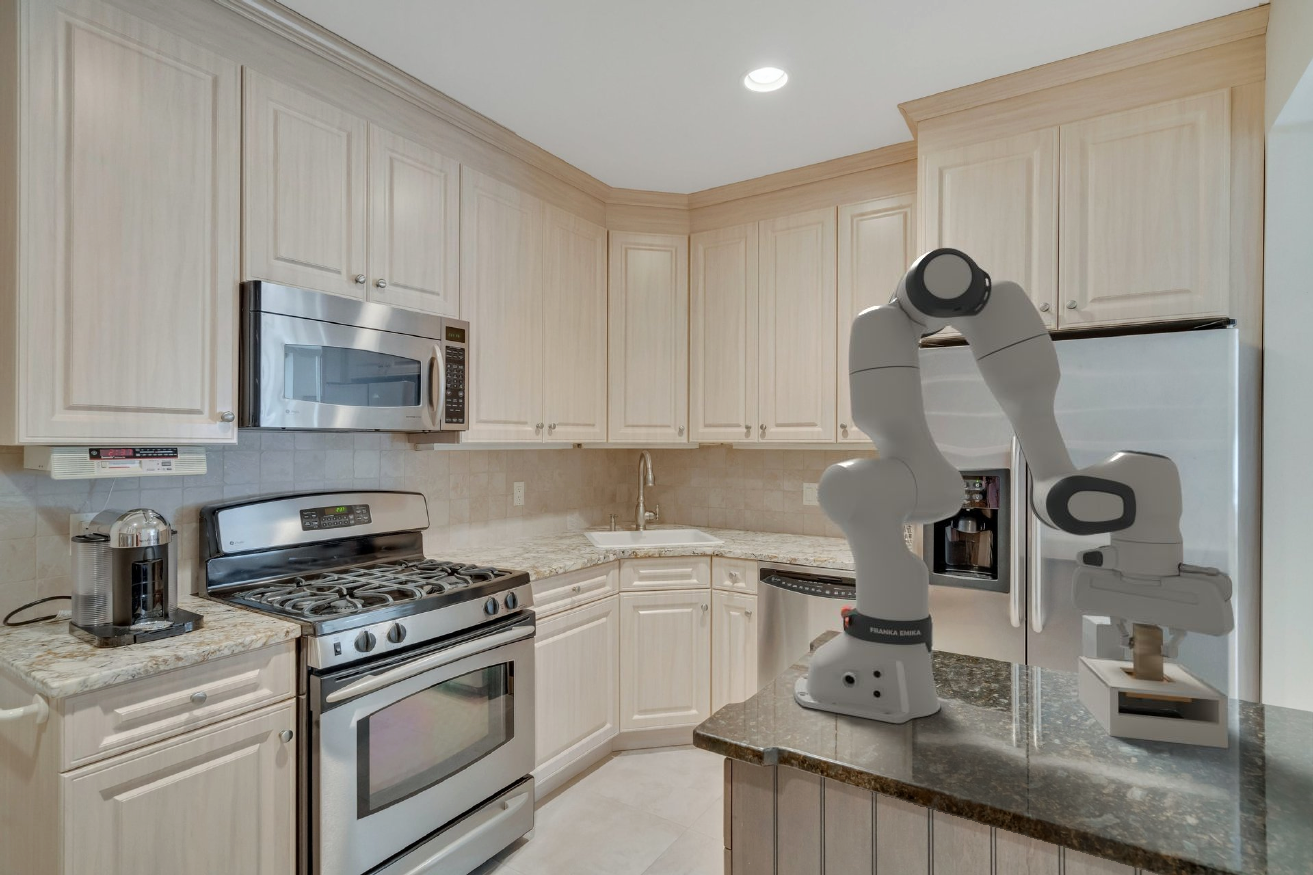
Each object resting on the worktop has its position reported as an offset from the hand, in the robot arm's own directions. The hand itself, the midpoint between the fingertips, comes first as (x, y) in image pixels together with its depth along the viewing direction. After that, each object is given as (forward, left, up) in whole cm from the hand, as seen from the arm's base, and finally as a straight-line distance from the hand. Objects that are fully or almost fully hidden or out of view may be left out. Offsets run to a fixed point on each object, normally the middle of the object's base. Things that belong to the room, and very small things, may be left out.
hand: (1147, 652), depth 101 cm
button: (0, 0, -7) cm, 7 cm away
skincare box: (-2, +12, -11) cm, 16 cm away
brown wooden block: (0, 0, -4) cm, 4 cm away
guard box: (0, 0, -10) cm, 10 cm away
